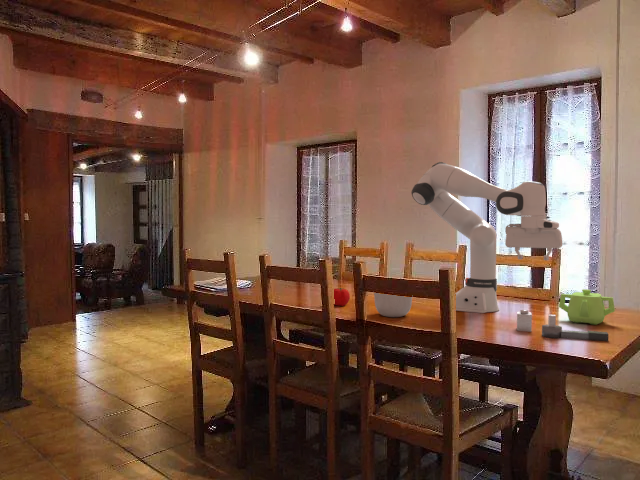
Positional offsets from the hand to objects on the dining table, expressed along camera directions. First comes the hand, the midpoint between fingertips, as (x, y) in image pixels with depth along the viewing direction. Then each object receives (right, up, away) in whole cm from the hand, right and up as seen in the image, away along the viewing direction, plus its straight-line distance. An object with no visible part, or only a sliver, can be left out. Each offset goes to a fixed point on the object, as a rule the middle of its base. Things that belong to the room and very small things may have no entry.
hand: (533, 259), depth 202 cm
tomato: (-72, -24, +48) cm, 90 cm away
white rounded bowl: (-50, -25, +23) cm, 61 cm away
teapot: (+24, -26, +7) cm, 36 cm away
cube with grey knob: (-5, -26, -5) cm, 27 cm away
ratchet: (+7, -27, -18) cm, 33 cm away
